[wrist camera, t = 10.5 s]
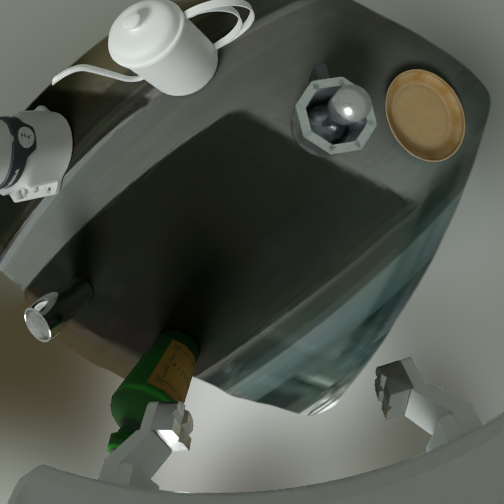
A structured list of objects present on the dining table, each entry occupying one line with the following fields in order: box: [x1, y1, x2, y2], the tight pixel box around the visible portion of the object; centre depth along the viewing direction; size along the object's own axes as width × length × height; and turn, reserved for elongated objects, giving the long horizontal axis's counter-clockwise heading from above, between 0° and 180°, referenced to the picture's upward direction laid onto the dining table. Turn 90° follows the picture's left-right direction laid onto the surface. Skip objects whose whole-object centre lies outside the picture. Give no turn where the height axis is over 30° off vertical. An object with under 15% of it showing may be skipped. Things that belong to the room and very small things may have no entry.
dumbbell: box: [308, 84, 372, 143], centre depth 29 cm, size 5×5×17 cm
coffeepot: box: [52, 0, 255, 96], centre depth 29 cm, size 11×25×19 cm, turn 108°
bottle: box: [107, 330, 199, 454], centre depth 40 cm, size 11×11×28 cm
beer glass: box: [24, 276, 94, 342], centre depth 45 cm, size 7×7×15 cm
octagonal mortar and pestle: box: [291, 63, 377, 157], centre depth 34 cm, size 9×11×12 cm
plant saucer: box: [385, 69, 465, 162], centre depth 36 cm, size 15×15×3 cm
